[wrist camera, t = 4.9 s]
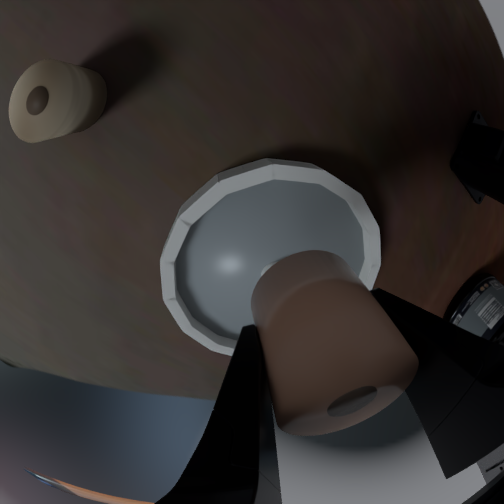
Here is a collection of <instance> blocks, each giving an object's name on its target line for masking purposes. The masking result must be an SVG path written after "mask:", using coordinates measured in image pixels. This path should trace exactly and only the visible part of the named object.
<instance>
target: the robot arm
mask: <svg viewBox="0 0 504 504" xmlns="http://www.w3.org/2000/svg"><path fill="white" fill-rule="evenodd" d="M450 167H451V169H452V171H453V172H454V173H455V175H456V176H457V177H458V179H459V180H460V181H461V183H462V184H463V185H464V187H465V188H466V190H467V191H468V193H469V194H470V195H471V197H472V198H473V200H474V201H475V203H477V204H480V203H481V202H482V200H483V198H484V196H485V195H487V196H489V197H491V198H493V199H495V200H497V201H498V202H500V203H502V204H504V131H503V130H499V129H496V128H492V127H488V125H487V123H486V121H485V120H484V118H483V116H482V115H481V113H480V112H479V111H473V113H472V116H471V118H470V121H469V123H468V126H467V128H466V130H465V133H464V135H463V137H462V139H461V141H460V144H459V146H458V148H457V150H456V152H455V154H454V156H453V158H452V160H451V163H450ZM369 291H370V292H371V294H372V295H373V296H374V297H375V299H376V300H377V301H378V303H379V304H380V305H381V307H382V308H383V309H384V311H385V312H386V313H387V315H388V316H389V317H390V319H391V320H392V322H393V323H394V324H395V326H396V327H397V328H398V330H399V331H400V333H401V334H402V335H403V337H404V338H405V340H406V341H407V343H408V344H409V345H410V347H411V348H412V350H413V351H414V353H415V354H416V356H417V357H418V360H419V366H418V370H417V373H416V375H415V377H414V379H413V380H412V382H411V383H410V385H409V386H408V387H407V388H406V389H405V392H406V394H407V395H408V397H409V400H410V402H411V404H412V406H413V408H414V409H415V412H416V414H417V416H418V417H419V419H420V422H421V423H422V425H423V428H424V430H425V432H426V434H427V436H428V439H429V441H430V443H431V445H432V448H433V450H434V452H435V454H436V457H437V459H438V461H439V464H440V466H441V468H442V471H443V473H444V475H445V477H446V479H448V478H450V477H452V476H453V475H455V474H457V473H459V472H461V471H462V470H464V469H466V468H468V467H469V466H471V465H472V464H474V463H476V462H477V464H478V466H479V468H480V470H481V473H482V475H483V477H484V479H485V481H486V485H485V486H484V487H483V488H482V489H481V490H479V491H478V492H477V493H475V494H474V495H473V496H471V497H470V498H469V499H468V500H466V501H465V502H463V503H462V504H504V346H503V345H500V344H498V343H495V342H492V341H490V340H487V339H485V338H482V337H480V336H478V335H475V334H473V333H471V332H469V331H467V330H465V329H463V328H461V327H459V326H457V327H456V325H455V324H453V323H451V322H449V321H447V320H444V319H442V318H440V317H438V316H436V315H434V314H432V313H430V312H428V311H426V310H424V309H422V308H420V307H418V306H416V305H414V304H412V303H410V302H407V301H405V300H403V299H401V298H399V297H397V296H395V295H393V294H391V293H389V292H386V291H384V290H382V289H380V288H375V289H372V290H369ZM213 409H214V410H213V411H212V413H211V416H210V419H209V421H208V424H207V426H206V429H205V431H204V434H203V436H202V438H201V440H200V442H199V444H198V446H197V448H196V450H195V452H194V453H193V455H192V457H191V459H190V461H189V462H188V464H187V466H186V468H185V470H184V471H183V474H182V475H181V477H180V479H179V480H178V482H177V483H176V485H175V486H174V487H173V488H172V490H171V491H170V492H168V493H167V494H166V495H165V496H164V497H162V498H161V499H160V500H159V501H157V502H156V503H154V504H282V499H281V493H280V492H281V490H280V480H279V470H278V460H277V449H276V440H275V429H274V419H273V409H272V401H271V396H270V392H269V388H268V383H267V379H266V374H265V369H264V364H263V358H262V353H261V349H260V344H259V340H258V335H257V331H256V327H255V325H254V324H250V325H246V326H243V327H242V329H241V332H240V334H239V337H238V340H237V343H236V346H235V349H234V352H233V355H232V357H231V360H230V363H229V366H228V369H227V372H226V374H225V377H224V380H223V383H222V386H221V389H220V391H219V394H218V397H217V400H216V403H215V406H214V408H213Z"/></svg>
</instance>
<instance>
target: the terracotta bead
mask: <svg viewBox="0 0 504 504" xmlns="http://www.w3.org/2000/svg"><path fill="white" fill-rule="evenodd" d="M251 311H252V316H253V320H254V325H255V327H256V331H257V335H258V340H259V344H260V349H261V353H262V358H263V364H264V369H265V374H266V379H267V383H268V388H269V392H270V396H271V401H272V405H273V409H274V413H275V418H276V422H277V425H278V427H279V428H280V429H281V430H282V431H284V432H286V433H288V434H292V435H298V436H299V435H300V436H313V435H321V434H326V433H331V432H334V431H338V430H341V429H344V428H347V427H350V426H352V425H355V424H357V423H359V422H362V421H363V420H365V419H367V418H369V417H371V416H373V415H374V414H376V413H378V412H379V411H380V410H382V409H384V408H385V407H387V406H388V405H389V404H390V403H392V402H393V401H394V400H395V399H396V398H397V397H399V396H400V395H401V394H402V393H403V392H404V390H405V389H406V388H407V387H408V386H409V385H410V383H411V382H412V380H413V379H414V377H415V375H416V373H417V370H418V366H419V360H418V357H417V356H416V354H415V353H414V351H413V350H412V348H411V347H410V345H409V344H408V343H407V341H406V340H405V338H404V337H403V335H402V334H401V333H400V331H399V330H398V328H397V327H396V326H395V324H394V323H393V322H392V320H391V319H390V317H389V316H388V315H387V313H386V312H385V311H384V309H383V308H382V307H381V305H380V304H379V303H378V301H377V300H376V299H375V297H374V296H373V295H372V294H371V292H370V291H369V290H368V288H367V287H366V286H365V285H364V283H363V282H362V281H361V279H360V278H359V277H358V276H357V274H356V273H355V272H354V271H353V269H352V268H351V267H350V266H349V264H348V263H347V262H346V261H345V260H344V259H343V258H341V257H340V256H338V255H336V254H334V253H331V252H328V251H323V250H308V251H302V252H298V253H295V254H292V255H290V256H287V257H285V258H283V259H282V260H280V261H278V262H277V263H275V264H274V265H273V266H271V267H270V268H269V269H268V270H267V271H266V272H265V273H264V274H263V275H262V276H261V278H260V279H259V281H258V282H257V284H256V286H255V288H254V290H253V293H252V297H251Z"/></svg>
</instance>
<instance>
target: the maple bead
mask: <svg viewBox="0 0 504 504" xmlns="http://www.w3.org/2000/svg"><path fill="white" fill-rule="evenodd" d="M106 101H107V87H106V83H105V81H104V79H103V78H102V76H101V75H100V74H99V73H97V72H96V71H93V70H91V69H87V68H84V67H80V66H77V65H73V64H70V63H66V62H62V61H58V60H54V59H45V60H41V61H39V62H37V63H35V64H33V65H32V66H31V67H29V68H28V69H27V70H26V71H25V72H24V73H23V74H22V76H21V77H20V78H19V80H18V82H17V83H16V85H15V87H14V89H13V92H12V95H11V99H10V104H9V119H10V124H11V127H12V129H13V131H14V133H15V134H16V135H17V136H18V137H19V138H20V139H21V140H23V141H25V142H29V143H36V142H40V141H44V140H47V139H51V138H55V137H59V136H63V135H67V134H72V133H76V132H81V131H84V130H86V129H88V128H89V127H91V126H92V125H93V124H94V123H95V122H96V121H97V120H98V118H99V117H100V116H101V114H102V112H103V110H104V107H105V105H106Z"/></svg>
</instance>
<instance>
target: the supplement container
mask: <svg viewBox="0 0 504 504" xmlns="http://www.w3.org/2000/svg"><path fill="white" fill-rule="evenodd" d="M443 319H444V320H447V321H449V322H451V323H453V324H455V325H456V327H457V326H459V327H461V328H463V329H465V330H467V331H469V332H471V333H473V334H475V335H478V336H480V337H482V338H485V339H487V340H490V341H492V342H495V343H498V344H500V345H503V346H504V286H503V285H502V284H501V283H500V282H499V281H498V280H497V279H496V278H495V277H494V276H493V275H491V274H489V273H483V274H480V275H478V276H476V277H474V278H473V279H471V280H470V281H469V282H468V283H467V284H466V285H464V287H463V288H462V289H461V290H460V291H459V292H458V293H457V295H456V296H455V297H454V299H453V300H452V302H451V304H450V305H449V307H448V309H447V311H446V313H445V315H444V318H443Z"/></svg>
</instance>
